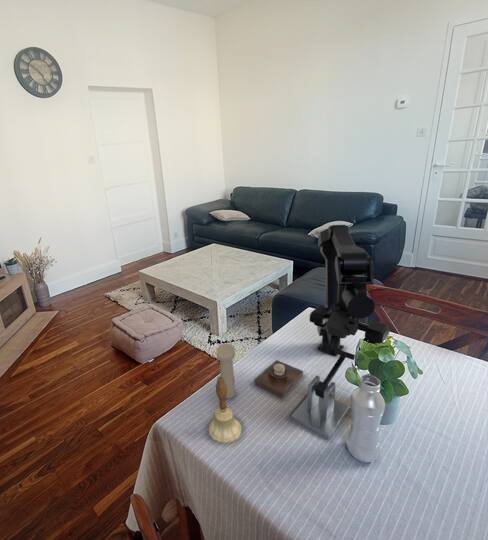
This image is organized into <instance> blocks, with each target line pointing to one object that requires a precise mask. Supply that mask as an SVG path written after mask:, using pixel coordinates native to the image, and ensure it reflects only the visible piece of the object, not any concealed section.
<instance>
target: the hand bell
mask: <svg viewBox="0 0 488 540" xmlns="http://www.w3.org/2000/svg"><path fill="white" fill-rule="evenodd" d="M215 392H216V393H215V394H216V396H217V398H218V403H219V404H218V405H219V407H218V408H216V410H215V412H214V418H213V419H212V421H211V422H210V423H209V425H208V434H209V436H210V438H211V439H212V440H214V441H215V442H217V443H222V444H229V443H233V442H234V441H236V440H237V439H239V438H240V436H241V434H242V431H243V430H242V424H241V422H240V421H239V420H238V419H237V418H235V416H234V412H233V410H232V409H231V408H230V407H227V400H226V399H227V398H226V395H227V387H226V383H225V382H224V380H223V377H220V376H218V377H217V379H216V383H215Z"/></svg>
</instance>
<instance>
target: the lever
mask: <svg viewBox="0 0 488 540" xmlns="http://www.w3.org/2000/svg"><path fill="white" fill-rule="evenodd" d="M335 354H338V355H337V356H339V357H338V358H337V360H336V362H335V364H334V365H333V366H332V367H331V369H330V370H329V372H328V374H327V375H326V376H325V378H324V380H323V381H321V380H320V381H319V383H318V384H317V386H316V387H315V395H316V396H319V397H321V398H323V399H324V391H325V390H326V388H327V387H328V386H329V385H330V383H331V382H332V380H333V379H334V377H335V375H336V374H337V372H338V370H340V367H341V366H342V365H343V363H344V361H345V360H346V359H349V360H352V361H354V360H355V359H356V355H355V354H353V353H351V352H348V351H345V350H343V349H342V350H339V349H335Z"/></svg>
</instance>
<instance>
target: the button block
mask: <svg viewBox="0 0 488 540" xmlns="http://www.w3.org/2000/svg"><path fill="white" fill-rule="evenodd" d="M275 364H282V365H284V367H285V373H284V374H283V375H276V374H275V373H274V365H275ZM303 377H304V371H303V370H301V369H300V368H297V367H294V366H292V365H290V364H287V363H285V362H282V361H280V360H277V359H276V360H275V361H274V362H273V363H272V364H271V365H269V366H268V367H267V368H266V369H265V370H264V371H263V372H261V374H260V375H258V376H257V377H256V378H255V379H254V386H256V387H258V388H260V389H262V390H264V391H266V392H267V393H269V394H272V395H274V396H276V397H278V398H280V399H283V398H284V397H285V396H286V395H288V393H289V392H290V391H291V390H292V389H293V388H294V386H295V385H296V384H297V383H298V382H299V381H300V380H301V379H302V378H303Z"/></svg>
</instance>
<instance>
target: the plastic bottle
mask: <svg viewBox="0 0 488 540" xmlns="http://www.w3.org/2000/svg"><path fill="white" fill-rule="evenodd" d="M380 392H381V380H380V379H379V378H378V377H376V376H374V375H371V374H363V375H361V376H360V379H359V383H358V387H356V388H355V389H354V390H353V391H352V392H351V394H350V409H351V422H350V428H349V431H348V434H347V437H346V446H347V450H348V452H349V453H350V455H351V456H352V457H353V458H354V459H356V460H357V461H359V462H361V463H372V462H375V461H376V460H377V459H378V458H379V455H380V452H381V447H380V427H381V422H382V418H383V415H384V413H385V409H386V403H385V399H384V397H383V396H382V393H380Z"/></svg>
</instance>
